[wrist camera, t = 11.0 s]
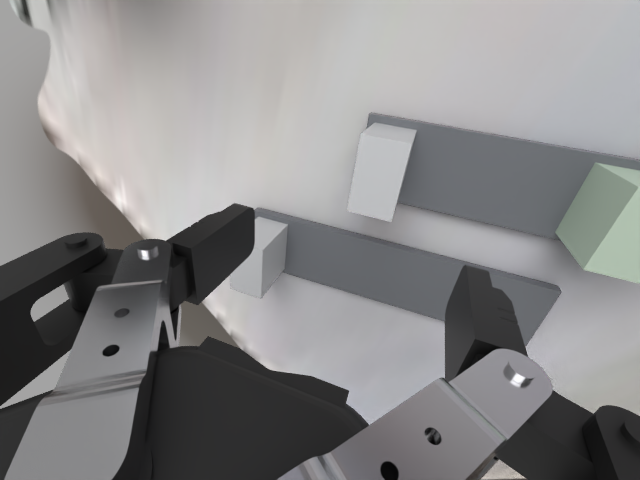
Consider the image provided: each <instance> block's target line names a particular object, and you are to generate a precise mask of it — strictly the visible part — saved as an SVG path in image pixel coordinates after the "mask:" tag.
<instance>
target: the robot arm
mask: <svg viewBox="0 0 640 480" xmlns="http://www.w3.org/2000/svg"><path fill="white" fill-rule="evenodd" d="M254 244H255V211H254V209H253V208H251V207H247V206H244V205H240V204H236V203H235V204H232V205H231V206H229V207H227V208H226V209H224V210H223V211H221V212H217V213H214V214H210V215H207V216H206V217H204V218H203V219H201V220H199V222H196V223H194V224H193V225H191V227H188V228H186V229H184V230H183V231H181V232H180V233H178V234H176V235H175V236H173V237H171V238H170V239H168V240H166V241H164V240H160V239H146V240H141V241H138V242H135V243H133V244H131V245H129V246H128V247H126V248H125V249H124V250H118V249H106V248H105V245H104V241H103V238H102V237H101V236H100V235H98V234H95V233H76V234H71V235H67V236H64V237H61V238H59V239H57V240H55V241H53V242H51V243H48V244H46V245H44V246H42V247H40V248H38V249H36V250H34V251H31V252H29V253H28V254H25V255H23V256H21V257H19V258H17V259H15V260H13V261H10V262H8V263H6V264H4V265H2V266H0V406H1V405H2V404H3V403H5V402H6V401H7V400H8V399H10V398H11V397H12V396H13V395H15V394H16V393H17V392H18V391H20V390H21V389H22V388H23V387H25V386H26V385H27V384H28V383H30V382H31V381H32V380H33V379H35V378H36V377H37V376H38V375H39V374H41V373H42V372H43V371H44V370H46V369H47V368H48V367H49V366H51V365H52V364H53V363H54V362H56V361H57V360H58V359H59V358H60V357H62V356H63V355H64V354H66V353H67V352H68V351H69V350H71V352H70V354H69V356H68V359H67V361H66V363H65V366H64V368H63V371H62V373H61V375H60V378H59V380H58V383H57V385H56V387H55V389H54V390H51V391H48V392H45V393H43V394H40V395H37V396H35V397H32V398H29V399H26V400H24V401H21V402H18V403H16V404H13V405H10V406H8V407H5V408H2V409H0V480H480V479H481V478H482V477H483V476H484V475H485V474H486V473H487V472H488V471H489V470H490V469H491V468H492V467H493V465H494V464H495V463H496V462H497V461H498V460H499V459H500V460H501V461H503V462H504V463H505V464H507V465H508V466H510V467H511V468H513V469H514V470H515V471H517V472H518V473H520V474H521V475H522V476H524V477H525V478H527V479H528V480H640V416H638V415H636V414H634V413H633V412H631V411H628V410H626V409H623V408H620V407H617V406H610V405H606V406H602V407H600V408H599V409H598V410H597V411H596V412H595V413H594V414H593V413H591V412H589V411H587V410H586V409H584V408H582V407H580V406H579V405H577V404H575V403H573V402H571V401H570V400H568V399H566V398H564V397H563V396H561V395H559V394H558V393H556V392H555V391H554V390H553V387H552V383H551V380H550V378H549V377H548V375H547V374H546V372H545V371H544V370H543V369H542V368H541V367H540V366H539V365H538V364H537V363H536V362H534V361H533V360H532V359H530V358H529V357H528V355H527V352H526V348H525V345H524V341H523V338H522V335H521V331H520V328H519V325H517V324H518V321H517V318H516V315H515V311H514V307H513V304H512V301H511V300H510V299H509V298H508V296H507V295H506V294H505V293H504V292H503V290H501V289H498V288H494V287H492V282H491V278H490V273H489V271H487V270H483V269H480V268H476V267H472V266H468V265H464V266H463V268H462V269H461V272H460V274H459V276H458V279H457V281H456V284H455V286H454V288H453V291H452V293H451V295H450V298H449V300H448V303H447V307H446V312H445V379H444V378H439V379H437V380H435V381H434V382H432V383H431V384H429V385H428V386H426V387H425V388H423V389H422V390H421V391H419V392H418V393H416V394H415V395H413V396H412V397H410V398H409V399H407V400H406V401H404V402H403V403H401V404H400V405H399V406H397V407H396V408H394V409H393V410H391V411H390V412H388V413H387V414H385V415H384V416H382V417H381V418H379V419H378V420H377V421H375V422H374V423H372V424H371V425H369V424H368V423H367V422H366V421H365V420H364V419H363V418H362V416H361V415H359V414H358V413H357V412H356V411H355V410H354V409H353V408H351V407H350V406H349V405H347V404H346V401H347V397H348V393H349V391H348V390H346V389H343V388H341V387H338V386H335V385H333V384H330V383H328V382H325V381H322V380H320V379H317V378H315V377H312V376H306V375H299V374H292V373H285V372H277V371H272V370H269V369H267V368H266V367H264V366H263V365H262V364H260V363H259V362H257V361H256V360H255V359H253V358H252V357H251V356H249V355H248V354H247V353H245V352H244V351H242V350H241V349H240V348H237V347H234V346H232V345H229V344H227V343H224V342H222V341H219V340H216V339H214V338H211V337H209V336H208V337H207V338H206V339H205V341H204V342H203V343H202V344H201V345H200V346H181V347H179V336H180V322H181V305H180V304H181V303H183V301H188V302H190V303H193V304H196V305H199V303H201V302H202V301H203V300H204V299H205V298H206V297H207V296H208V295H209V294H210V293H211V292H212V291H213V290H214V289H215V288H216V287H217V286H219V285H220V284H221V283H222V282H223V281H224V280H225V279H226V278H227V277H228V276H229V275H230V274H231V273H232V272H233V271H234V270H235V269H236V268H237V267H239V266H240V265H241V264H242V263H243V262H244V261H245V260H246V259H247V258H248V257H249V256H250V255H251V253H252V251H253V248H254ZM62 284H64V286H65V289H66V292H67V294H68V297H69V300H67V301H66V302H64V303H63V304H61V305H59V306H58V307H57V308H55V309H53V310H52V311H50V312H49V313H47V314H46V315H44V316H43V317H41V318H40V319H38V320H37V321H35V322H33V320H32V318H31V315H30V311H31V308H32V306H33V304H34V303H35V302H36V301H37V300H38V299H39V298H41V297H43V296H44V295H46V294H48V293H49V292H51V291H52V290H54V289H56V288H57V287H59V286H61V285H62Z"/></svg>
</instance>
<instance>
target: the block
mask: <svg viewBox="0 0 640 480" xmlns="http://www.w3.org/2000/svg"><path fill="white" fill-rule="evenodd" d="M555 233H556V234H557V236H558V237H559V238H560V240H561V241H562V242H563V244H564V245H565V246H566V248H567V249H568V250H569V252H570V253H571V254H572V256H573V257H574V258H575V260H576V261H577V262H578V264H579V265H580V266H581V268H582V269H583V270H586V271H590V272H594V273H598V274H602V275H606V276H610V277H614V278H618V279H622V280H626V281H630V282H634V283H638V284H640V171H639V170H634V169H628V168H623V167H617V166H612V165H606V164H601V163H594V165H593V167H592V169H591V170H590V172H589V174H588V176H587V177H586V179H585V181H584V183H583V184H582V186H581V188H580V190H579V191H578V193H577V195H576V197H575V198H574V200H573V202H572V204H571V205H570V207H569V209H568V210H567V212H566V214H565V216H564V217H563V219H562V221H561V223H560V224H559V226H558V228H557V230H556V231H555Z"/></svg>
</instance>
